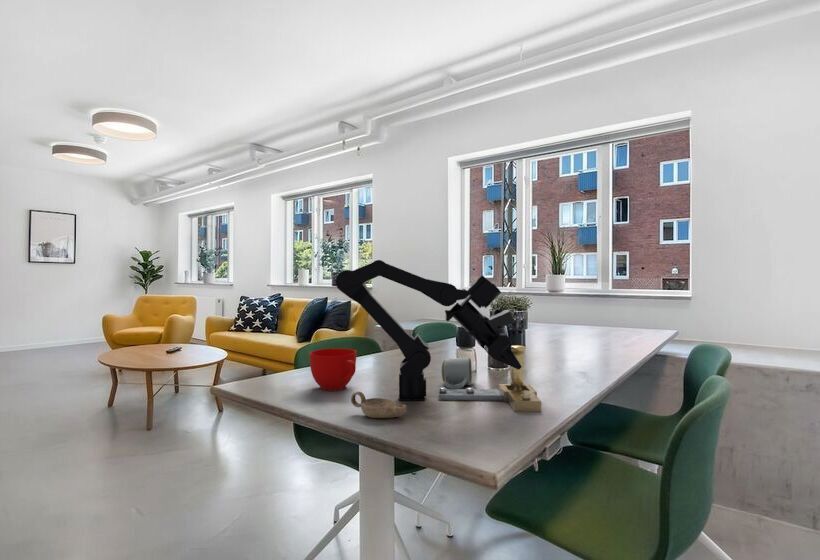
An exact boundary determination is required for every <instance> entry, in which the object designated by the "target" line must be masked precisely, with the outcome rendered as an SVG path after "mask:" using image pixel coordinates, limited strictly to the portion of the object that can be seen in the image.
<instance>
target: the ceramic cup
mask: <svg viewBox="0 0 820 560" xmlns="http://www.w3.org/2000/svg"><path fill="white" fill-rule="evenodd" d="M309 365H310V366H309V367H310V371H311V372H310V373H311V375H312V377H313V379H314V381H315V382H316V383H317V385H318V386H319V388H322V391H329V390H333V391H341V390H344V389H345V388H346V386H348V384H350V382H351V381H352V378H353V376H354V375H355V373H356V369H357V366H356V365H357V350H355V349H351V348H338V347H337V348H322V349H316V350H311V351H310V352H309ZM340 389H341V390H340Z"/></svg>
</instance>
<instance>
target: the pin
mask: <svg viewBox="0 0 820 560" xmlns="http://www.w3.org/2000/svg"><path fill="white" fill-rule="evenodd" d="M511 350H512V352H513V354H514V355H515V357H516V358H517V360H518V361H519V363H520V364H521V366H522V367H521V368H520V369H519V370H518V369H516V368H514V367H511V366H510V384H511V390H522V391H524V384H525V383H524V379H525V376H524V374H525V373H524V370H525V369H524V367H525V366H524V357H525V355H524V354H525V353H524V352H526V346H524V345H518V344H515V345H513V344H512V346H511Z"/></svg>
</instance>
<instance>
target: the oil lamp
mask: <svg viewBox="0 0 820 560" xmlns="http://www.w3.org/2000/svg"><path fill="white" fill-rule="evenodd" d="M356 396H359V397H360V399H361V400H360V403H359V402H357V400H356ZM350 402H351V404H352V405H353V406H354V407H356V408H360V409H361V411H362V413H363V414H364V415H365V416H367V417H369V418H371V419H391V418H393V419H394V418H399V417H401V416H402V415H404V414H405V412H406V410H407V405H406V404H405V403H404V404H399V403H398V402H397V401H393V400H391V399H389V398H381V397H374V398H373V397H371V398H366V396H365V394H364V392H362V391H355V392H353V393H352V394H351V397H350Z"/></svg>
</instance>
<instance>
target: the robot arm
mask: <svg viewBox="0 0 820 560" xmlns="http://www.w3.org/2000/svg"><path fill="white" fill-rule="evenodd" d="M378 277H382V278H384V279H387V280H390V281H392V282H395V283H397V284H399V285H402V286H405V287H407V288H410V289H412V290H415V291H416V292H417V291H418V292H420V293H421V294H423V295H425V296H427V297H428V298H430V299H431V300H433V301H434V302H436V303H437V304H439V305H441V306H443V307H450V306H452V307H451V308H450V309H445V310H444V313H445V321H446V322H449V321H451V320H452V319H454V320H455V321H456V322H457V323H458V324H460V326H461V327H462V328H464V330H465V331H466V332H467V333H468V334H469V335H470V336H471V337H472V338H473V339H474V340H475V341H476V343H477V344H478V345H479V346H480V347H481V349H483V350H484V351H485V352H486V353H487V354H488V355H489V356H490V357H491V358H492V359H493V360H495V361H498V362H500V363H502V364H504V365H507V366H510V368H511V367H514V368H516V369H518V370H519V369H520V368H521V367H522V366H521V364H520V363H519V361H518V360H517V358H516V357H515V355H514V354H513V352H512V350H511V346H512V345H513V341H512V338H510V337H509V336H508V335H507V333H506V334H505V333H502V332H501V329H503V328H504V327H506V326H508V325H513V324H514V323H516V320H515V318H514V316H513V313H512V311H511V310H510V309H504V310H502V309H500V308H495V309H494V310H493V312H492V315H491V316H490V317H488V316H485V315H483V314H482V312H480V311H479V310H478V309H481V308H485V309H487V308H488V307H489V306H490V305H491V304H492V303H493V302H494V301H495V300H496V299H497V298H498V297H499V296H500V295H501V294H502V292H501V290H500V289H499V288H498V287H497V286H496V285H495V284H494V283H492V282H491V281H490V280H489V279H488V278H486V277H485V276H484V275H479V276H478V278H477V279H476V281H475V282H473V284H472V285H471V286H470V287H469V288H468V289H466V288H462V289H459V288H457V286H455V285H454V284H452V283H447V282H443V281H439V280H438V281H437V280H434V279H428V278H424V277H422V276H419V275H417V274H414V273H412V272H409V271H406V270H404V269H402V268H400V267H396V266H394V265H391V264H389V263H386V262H385V261H383V260H381V259H377V260H374V261H373V262H371V263H368V264H366V265H363V266H361V267H359V268H356V269H354V270H353V269H352V270H351V269H344V270H341V271H340V272H339V273H338V274H337V275H336V277H335V285H336V288H337V289H338V290H339V291H340V292H341V293H343V294H344V295H346V296H347V297H348V298H349V299H351V300H353V302H356V303H357V304H358V305H360V306H361V307H362V309H364V311H366V312H367V314H368V315H369V316H370V317H371V318H372V319H373V320H374V321H375V323H377V324H378V325H379V326H380V328H382V330H384V332H385V333H386V334H387V335H388V336H389V337H390V338H391V339H392V340H393V341H394V342H395V343H396V345H397V346H398V348H399V350H400V351H401V353H402V355H403V356H404V358H403V359H402V361H401V362H400V364H399V365H400V366H399V374H398V401H425V397H426V396H427V378H426V377H425V372H424V370H425V369H427V368H428V367H429V365H430V363H431V361H432V357H431V352H430V351H431V350H430V347H429V343H427V342H425V341H424V340H423V339H422V338H421V336H420V335H419V333H416V335H415V336H413V335H412V334H410V333H408V331H406V330H405V328H403V326H402V325H401V324H400V323H399V322H398V321H397V320H396V318H394V317H393V315H391V313H389V312H388V310H387V309H386V308H385V307H384V306H383V305H382V303H380V302H379V301H378V299H376V298H375V296H373V294H372V293H371V291H370V290H369V288H368V286H367V284H366V283H367V282H369V281H371V280H373V279H376V278H378ZM461 300H463V302H461V303H458V301H461ZM470 301H471V302H472V303H471V302H470ZM473 304H474V305H475V306H476V307H477V308H476V307H475V306H474V305H473Z"/></svg>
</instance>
